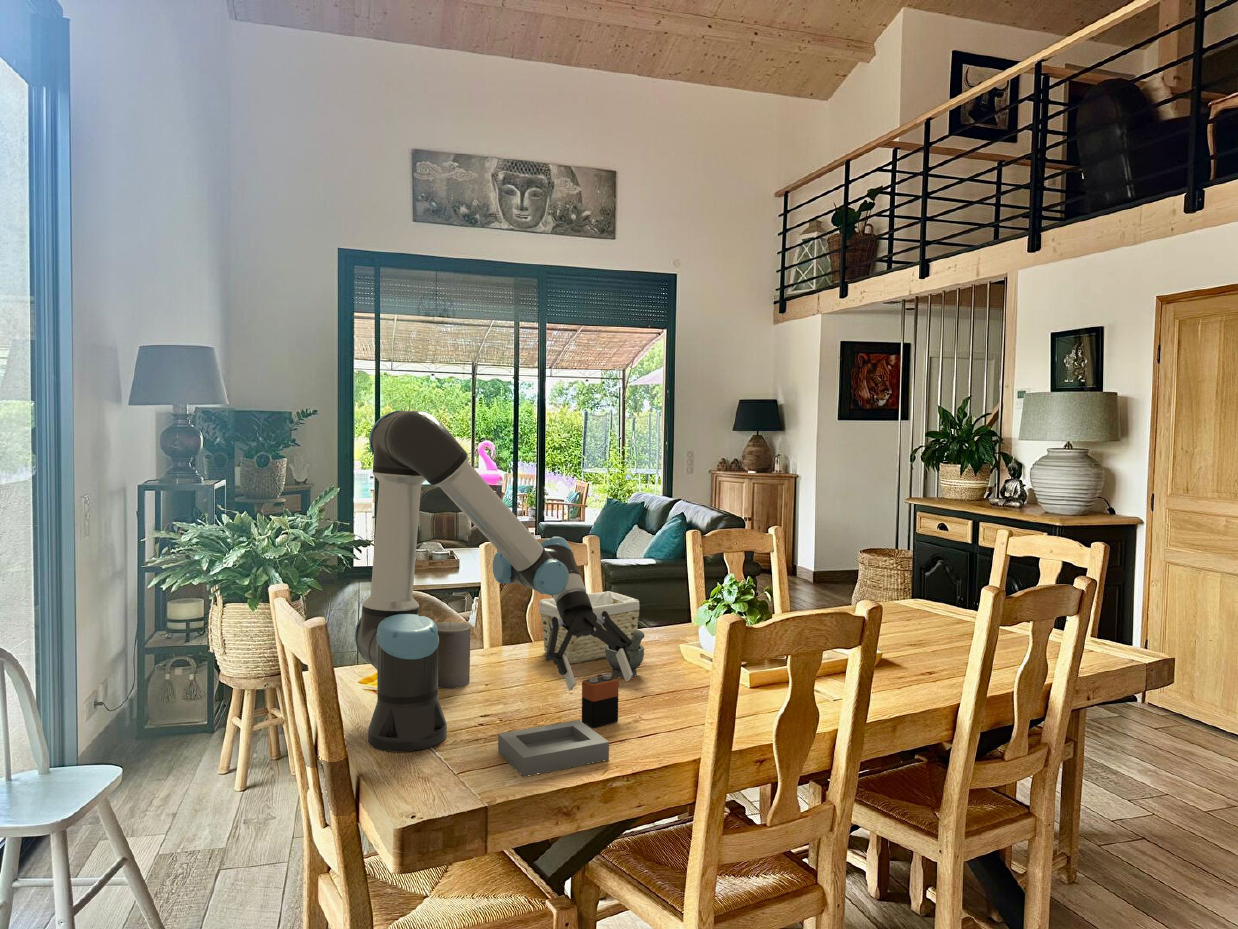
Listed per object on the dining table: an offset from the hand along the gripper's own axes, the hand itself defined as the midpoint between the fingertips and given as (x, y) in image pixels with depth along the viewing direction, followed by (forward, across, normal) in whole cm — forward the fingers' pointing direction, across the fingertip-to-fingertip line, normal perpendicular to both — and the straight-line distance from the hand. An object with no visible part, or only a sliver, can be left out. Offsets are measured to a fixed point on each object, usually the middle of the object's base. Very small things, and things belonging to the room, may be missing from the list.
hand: (601, 682), depth 181 cm
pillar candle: (-21, +21, -32) cm, 44 cm away
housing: (+15, +18, +5) cm, 24 cm away
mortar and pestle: (-11, -20, -23) cm, 32 cm away
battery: (+7, +2, -4) cm, 8 cm away
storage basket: (-27, -21, -39) cm, 52 cm away
